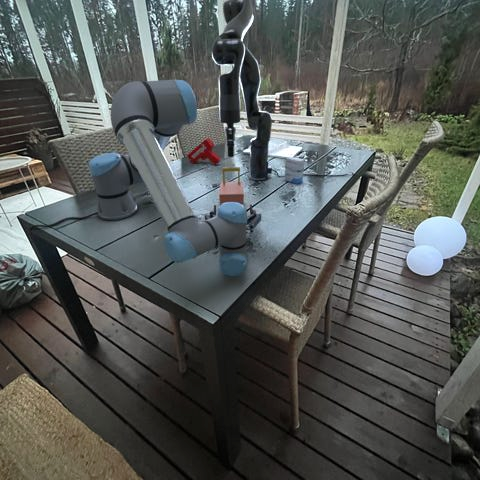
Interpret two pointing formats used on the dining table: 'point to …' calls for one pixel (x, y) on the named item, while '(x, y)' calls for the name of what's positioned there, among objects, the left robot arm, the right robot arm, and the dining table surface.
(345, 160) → the dining table surface
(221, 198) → the chest
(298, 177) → the ink box
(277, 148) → the relief map
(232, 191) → the block with yellow handle
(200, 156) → the toy gun
